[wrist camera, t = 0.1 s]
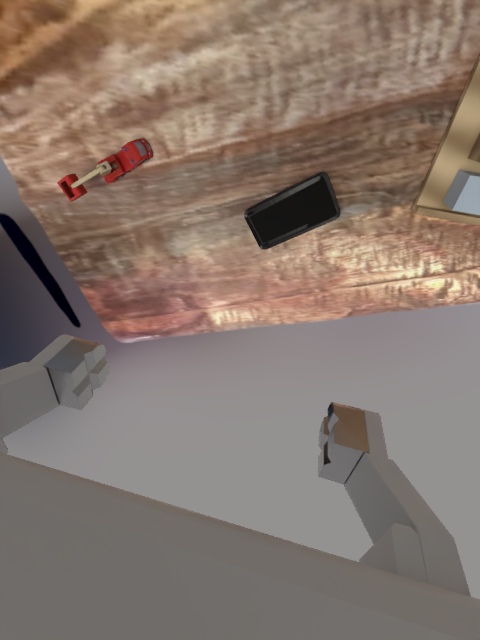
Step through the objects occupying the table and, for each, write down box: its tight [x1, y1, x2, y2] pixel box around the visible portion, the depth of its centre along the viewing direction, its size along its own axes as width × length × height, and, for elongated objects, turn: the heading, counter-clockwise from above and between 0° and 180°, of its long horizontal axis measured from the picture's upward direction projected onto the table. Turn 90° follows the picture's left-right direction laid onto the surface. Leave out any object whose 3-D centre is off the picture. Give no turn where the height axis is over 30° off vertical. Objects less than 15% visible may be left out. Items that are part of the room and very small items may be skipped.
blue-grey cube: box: [443, 170, 480, 215], centre depth 43 cm, size 4×4×4 cm
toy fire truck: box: [58, 138, 153, 201], centre depth 52 cm, size 3×14×10 cm, turn 117°
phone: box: [244, 172, 340, 249], centre depth 54 cm, size 8×1×15 cm
